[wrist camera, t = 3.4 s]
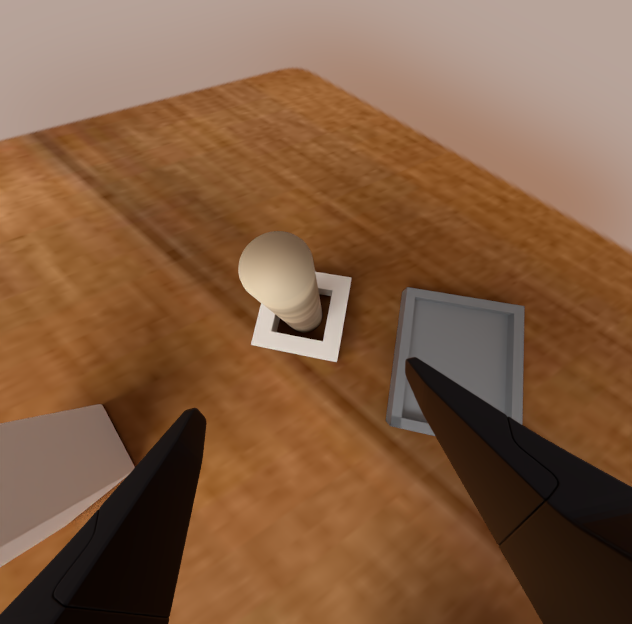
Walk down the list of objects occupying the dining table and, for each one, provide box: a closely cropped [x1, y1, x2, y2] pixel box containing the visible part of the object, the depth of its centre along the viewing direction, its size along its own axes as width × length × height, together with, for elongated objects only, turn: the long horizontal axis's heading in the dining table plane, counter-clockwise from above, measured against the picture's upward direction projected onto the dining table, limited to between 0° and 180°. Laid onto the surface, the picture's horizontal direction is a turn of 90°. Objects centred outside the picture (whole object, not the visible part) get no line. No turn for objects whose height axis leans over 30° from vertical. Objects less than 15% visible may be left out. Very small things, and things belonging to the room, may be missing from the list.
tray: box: [386, 287, 524, 436], centre depth 20 cm, size 12×10×2 cm
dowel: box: [239, 231, 322, 333], centre depth 16 cm, size 4×4×12 cm
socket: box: [251, 272, 352, 362], centre depth 21 cm, size 8×8×2 cm
